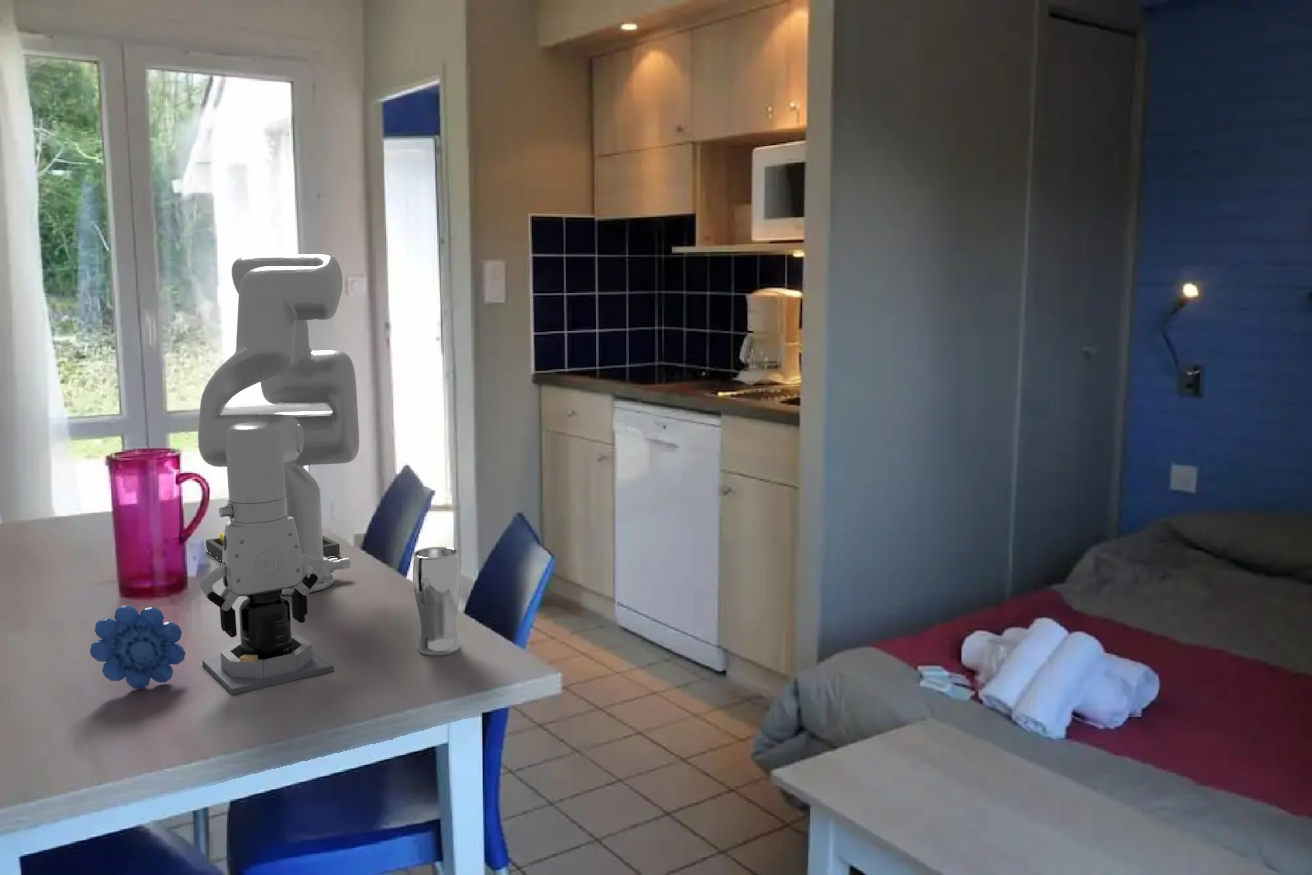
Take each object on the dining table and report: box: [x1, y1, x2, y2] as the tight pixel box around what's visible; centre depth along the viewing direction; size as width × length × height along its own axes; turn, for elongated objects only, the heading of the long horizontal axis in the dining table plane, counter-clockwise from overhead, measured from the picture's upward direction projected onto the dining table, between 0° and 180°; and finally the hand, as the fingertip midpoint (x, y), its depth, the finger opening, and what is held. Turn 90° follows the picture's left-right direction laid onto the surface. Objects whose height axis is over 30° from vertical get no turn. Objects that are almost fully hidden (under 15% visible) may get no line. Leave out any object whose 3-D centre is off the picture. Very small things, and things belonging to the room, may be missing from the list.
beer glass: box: [412, 546, 462, 657], centre depth 161 cm, size 7×7×15 cm
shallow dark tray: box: [205, 534, 341, 562], centre depth 216 cm, size 20×20×2 cm
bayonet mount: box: [201, 634, 335, 696], centre depth 154 cm, size 14×14×4 cm
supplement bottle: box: [238, 590, 292, 660], centre depth 153 cm, size 7×7×12 cm
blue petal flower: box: [89, 605, 186, 690], centre depth 145 cm, size 12×7×12 cm, turn 125°
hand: (265, 627), depth 153 cm, fingers open, 9 cm apart
